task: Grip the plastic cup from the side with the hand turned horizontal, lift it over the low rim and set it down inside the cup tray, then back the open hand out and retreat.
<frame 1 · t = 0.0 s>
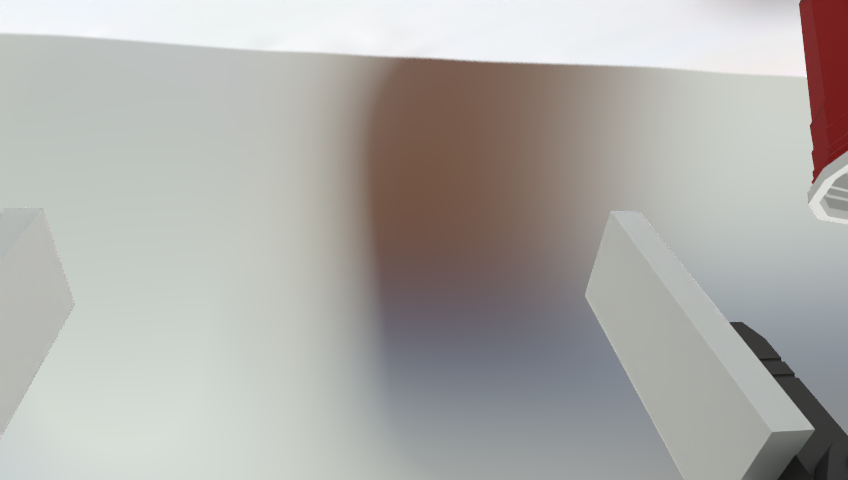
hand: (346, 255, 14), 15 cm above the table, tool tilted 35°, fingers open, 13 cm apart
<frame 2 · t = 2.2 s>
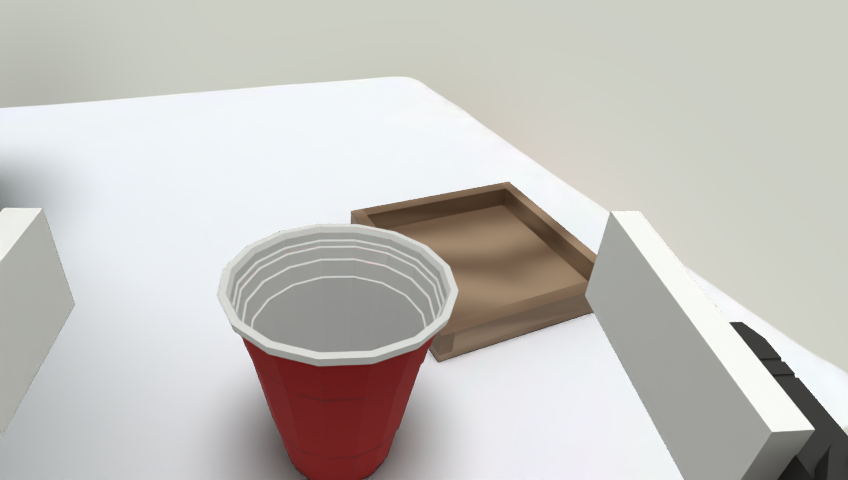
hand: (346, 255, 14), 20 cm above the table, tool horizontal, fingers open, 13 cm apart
cup tray: (477, 267, 48), on the table
plastic cup: (340, 440, 33), on the table
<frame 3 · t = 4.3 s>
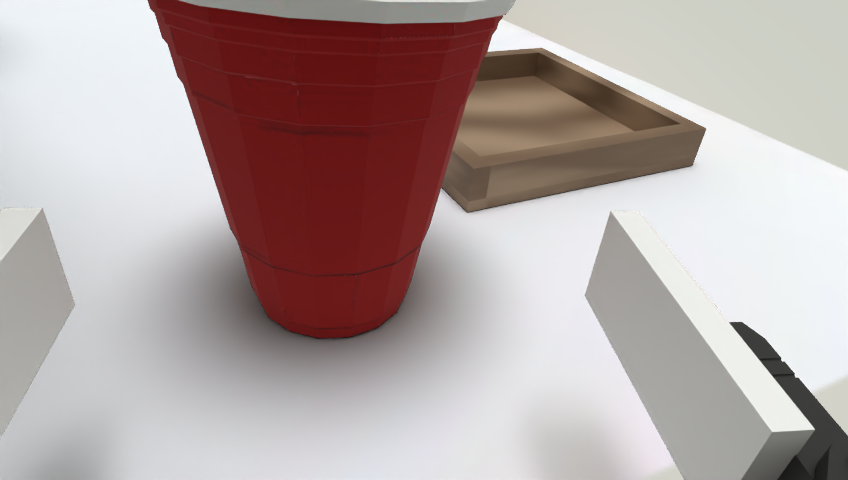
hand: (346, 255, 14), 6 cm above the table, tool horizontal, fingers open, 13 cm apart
cup tray: (509, 128, 38), on the table
plastic cup: (333, 289, 23), on the table
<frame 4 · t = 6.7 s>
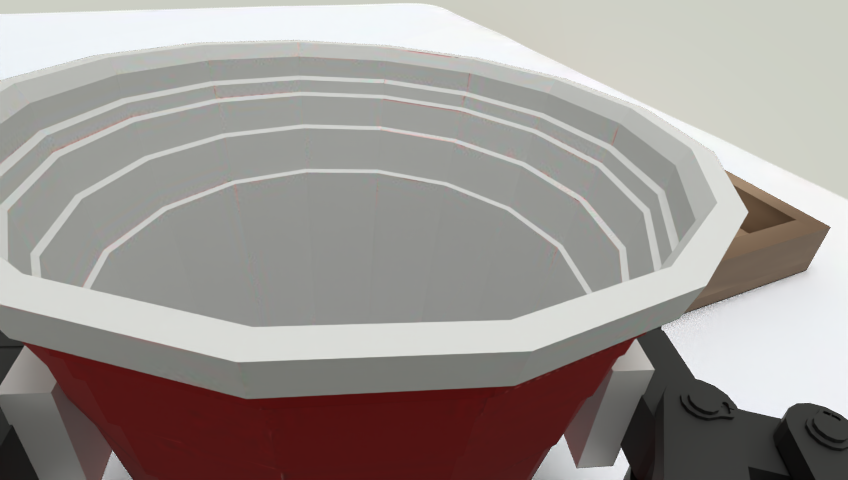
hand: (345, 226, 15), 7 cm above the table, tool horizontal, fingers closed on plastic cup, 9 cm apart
cup tray: (565, 214, 30), on the table
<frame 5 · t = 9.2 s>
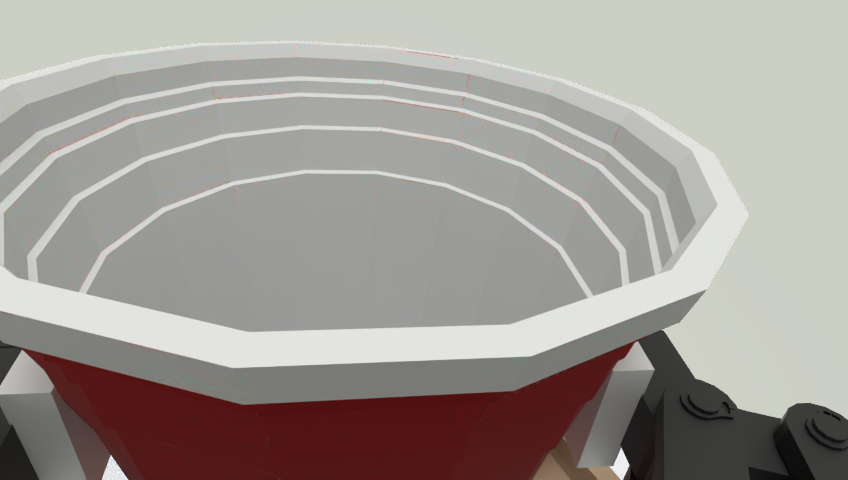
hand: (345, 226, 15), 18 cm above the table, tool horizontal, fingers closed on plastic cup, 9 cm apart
when the fingers open (8 cm above the table, at t = 12.1 s): plastic cup drops 1 cm, resting on cup tray.
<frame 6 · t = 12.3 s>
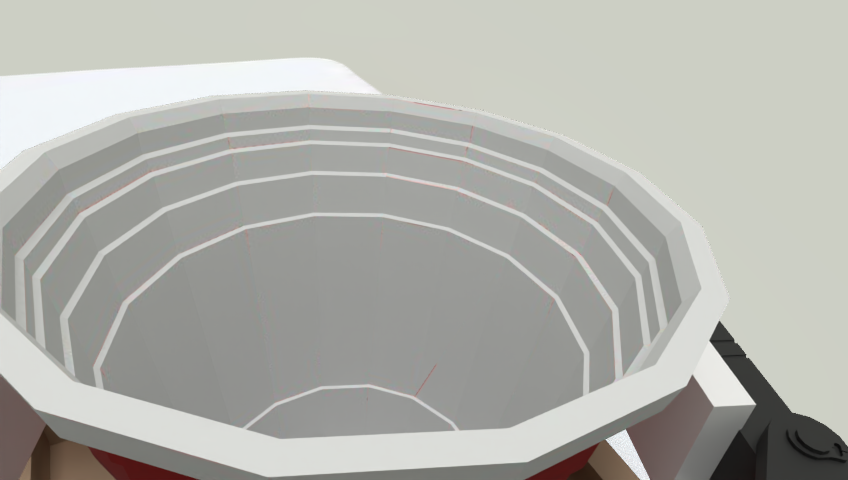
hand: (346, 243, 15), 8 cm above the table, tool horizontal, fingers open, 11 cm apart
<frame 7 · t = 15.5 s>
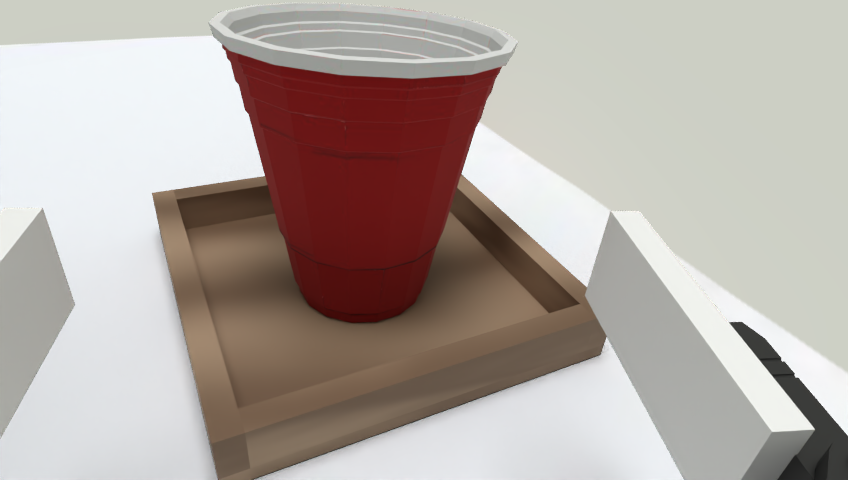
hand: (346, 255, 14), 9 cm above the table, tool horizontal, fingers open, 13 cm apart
cup tray: (360, 288, 28), on the table
plastic cup: (362, 283, 28), resting on cup tray
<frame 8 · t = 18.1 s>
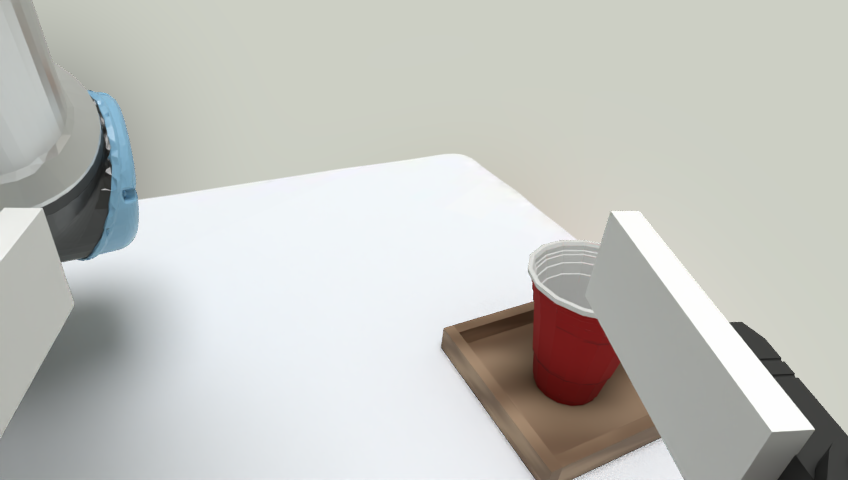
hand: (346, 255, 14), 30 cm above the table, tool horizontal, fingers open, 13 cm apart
cup tray: (562, 382, 52), on the table
plastic cup: (564, 380, 51), resting on cup tray
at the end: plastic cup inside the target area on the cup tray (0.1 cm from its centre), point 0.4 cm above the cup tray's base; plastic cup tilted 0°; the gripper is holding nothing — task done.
